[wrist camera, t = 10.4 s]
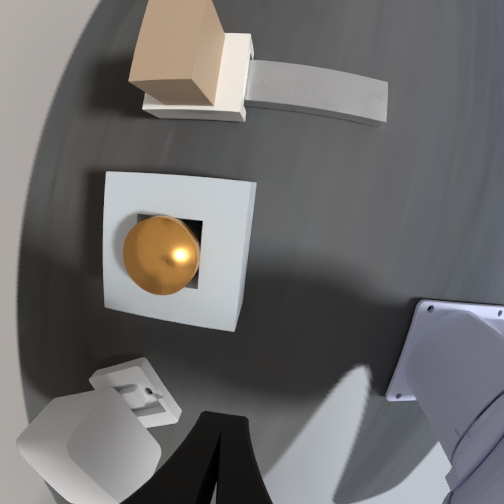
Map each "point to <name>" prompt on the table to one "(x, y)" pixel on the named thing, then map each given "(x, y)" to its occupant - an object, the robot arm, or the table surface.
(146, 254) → the gold round knob
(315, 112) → the rail
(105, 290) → the grey square-hole block
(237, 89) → the carriage
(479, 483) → the robot arm
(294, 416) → the table surface
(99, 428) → the security camera
